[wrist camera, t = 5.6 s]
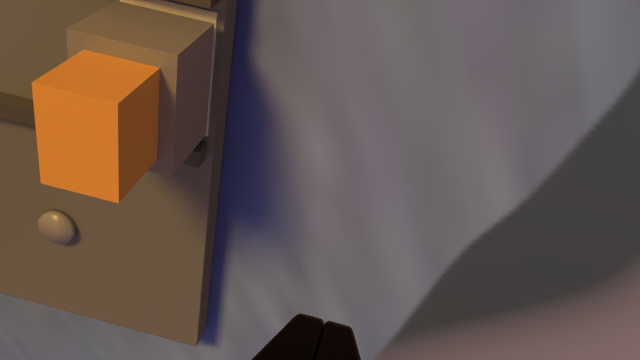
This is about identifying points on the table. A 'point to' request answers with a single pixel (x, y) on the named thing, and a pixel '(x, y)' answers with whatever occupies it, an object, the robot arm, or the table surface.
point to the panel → (101, 215)
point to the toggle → (123, 100)
